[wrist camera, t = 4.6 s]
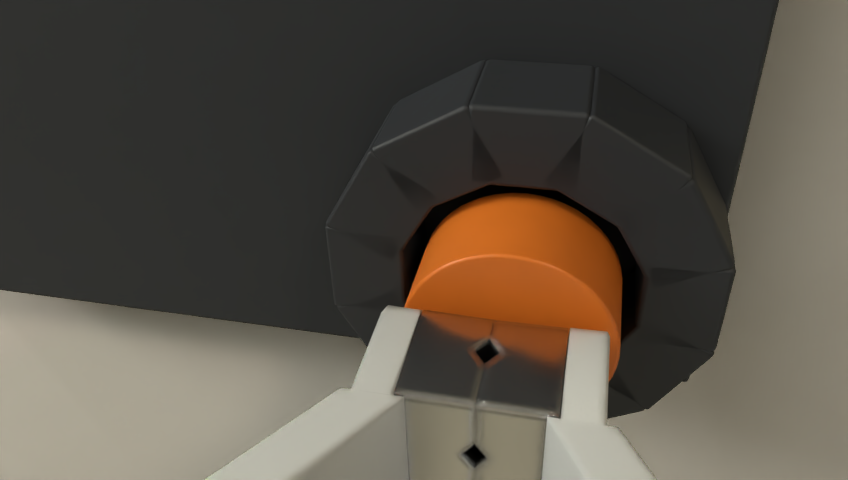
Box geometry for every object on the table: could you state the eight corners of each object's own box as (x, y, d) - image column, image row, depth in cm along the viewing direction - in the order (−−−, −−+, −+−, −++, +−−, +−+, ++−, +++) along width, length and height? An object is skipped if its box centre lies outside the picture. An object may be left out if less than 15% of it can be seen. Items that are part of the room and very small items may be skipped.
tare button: (634, 201, 11) (633, 270, 10) (610, 360, 13) (607, 434, 11) (421, 181, 11) (395, 243, 10) (426, 335, 13) (404, 404, 12)
